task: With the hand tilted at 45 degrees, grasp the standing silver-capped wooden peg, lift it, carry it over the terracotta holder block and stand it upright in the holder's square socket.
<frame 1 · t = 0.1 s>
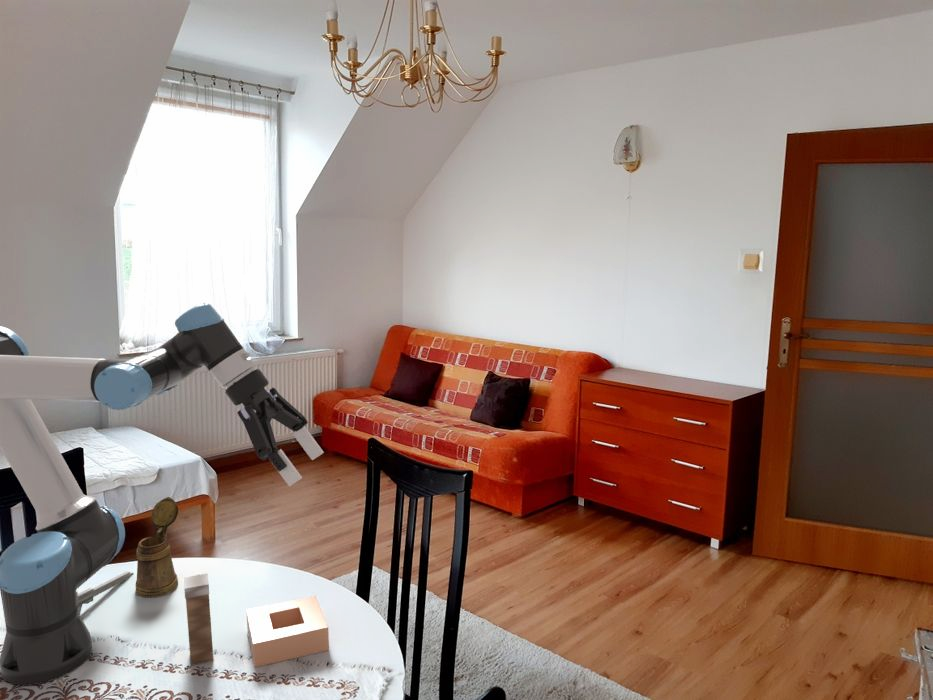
hand: (307, 468, 136), 36 cm above the table, tool tilted 35°, fingers open, 13 cm apart
terracotta holder: (287, 640, 142), on the table
silver-capped wooden peg: (201, 656, 137), on the table
wooden mug: (161, 582, 163), on the table
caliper: (102, 598, 156), on the table
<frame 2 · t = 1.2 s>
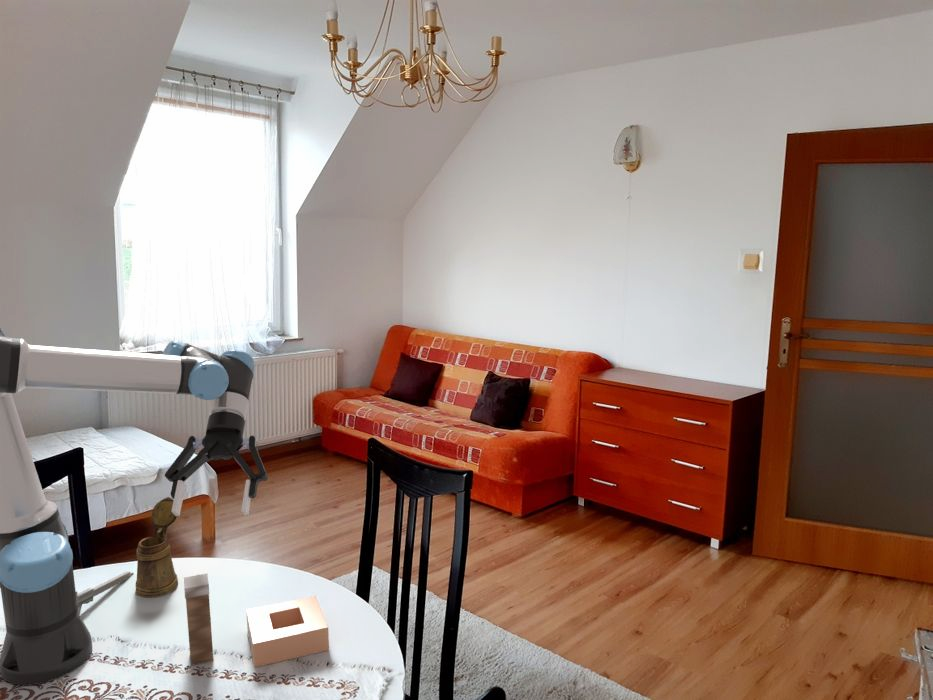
hand: (210, 513, 141), 25 cm above the table, tool tilted 45°, fingers open, 13 cm apart
nothing on the table moved.
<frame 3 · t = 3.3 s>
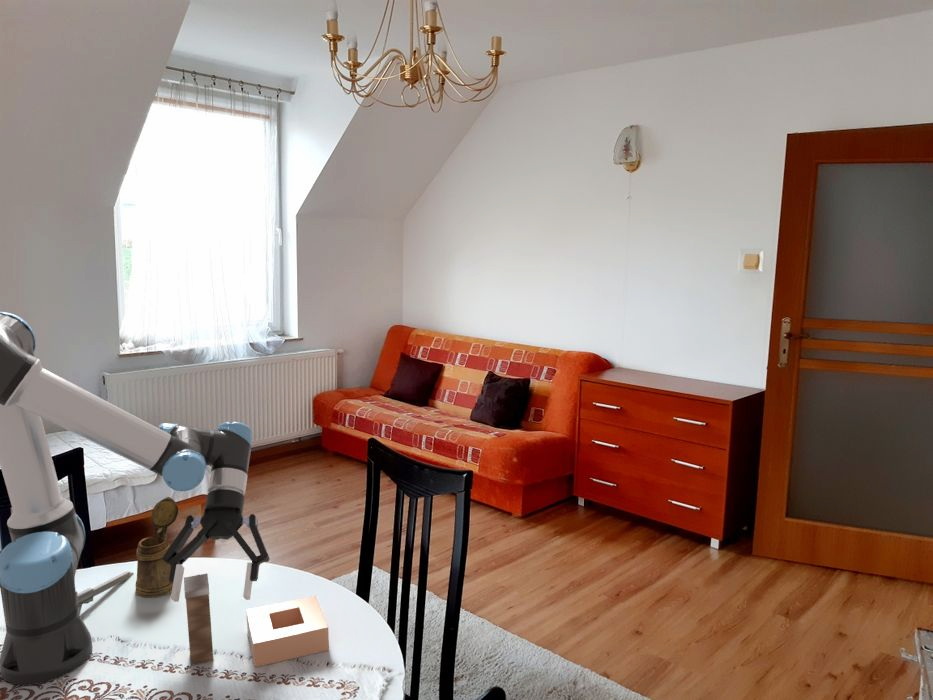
hand: (210, 599, 137), 10 cm above the table, tool tilted 45°, fingers open, 13 cm apart
nothing on the table moved.
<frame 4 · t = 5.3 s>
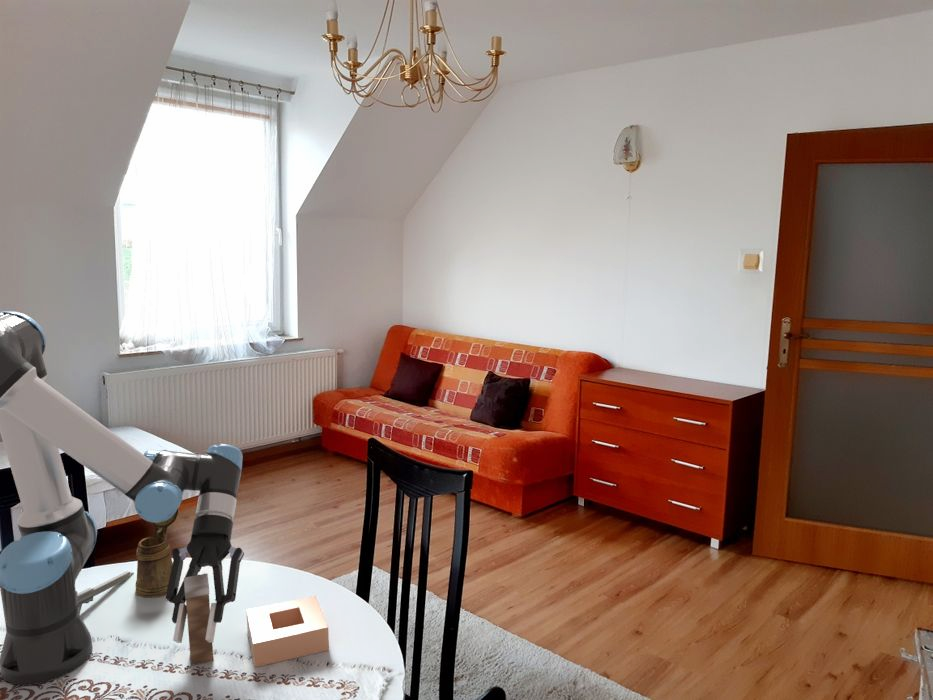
hand: (193, 641, 132), 6 cm above the table, tool tilted 45°, fingers closed on silver-capped wooden peg, 5 cm apart
silver-capped wooden peg: (201, 656, 137), on the table, touching gripper
everything else where it was.
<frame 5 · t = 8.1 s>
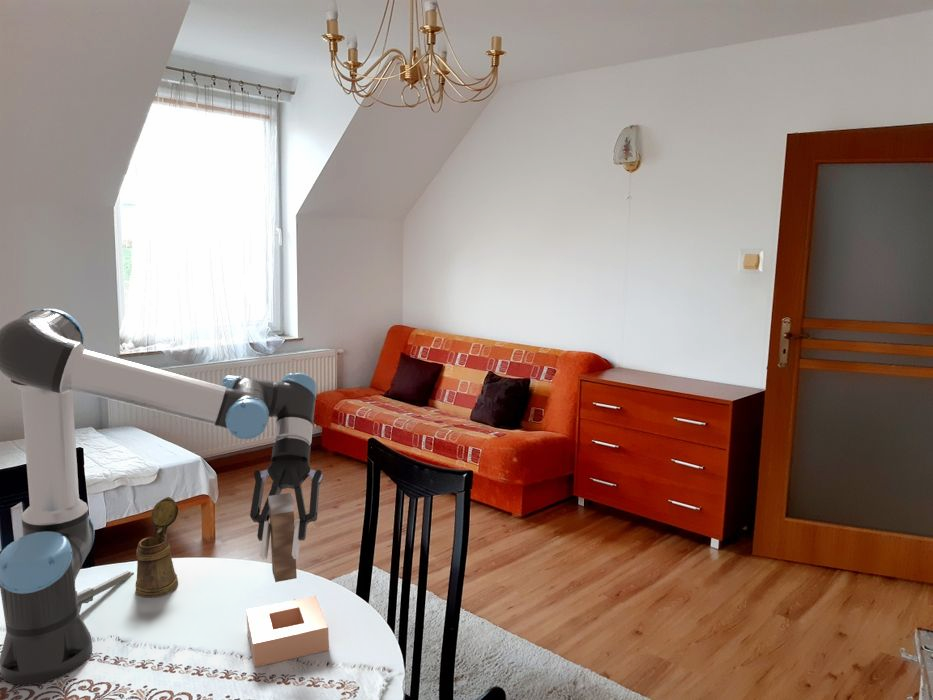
hand: (279, 556, 134), 20 cm above the table, tool tilted 45°, fingers closed on silver-capped wooden peg, 5 cm apart
silver-capped wooden peg: (284, 575, 139), point 14 cm above the table, touching gripper
everything else where it was.
when the fingers open (7 cm above the table, at t = 11.4 s): silver-capped wooden peg stays where it is, resting in terracotta holder.
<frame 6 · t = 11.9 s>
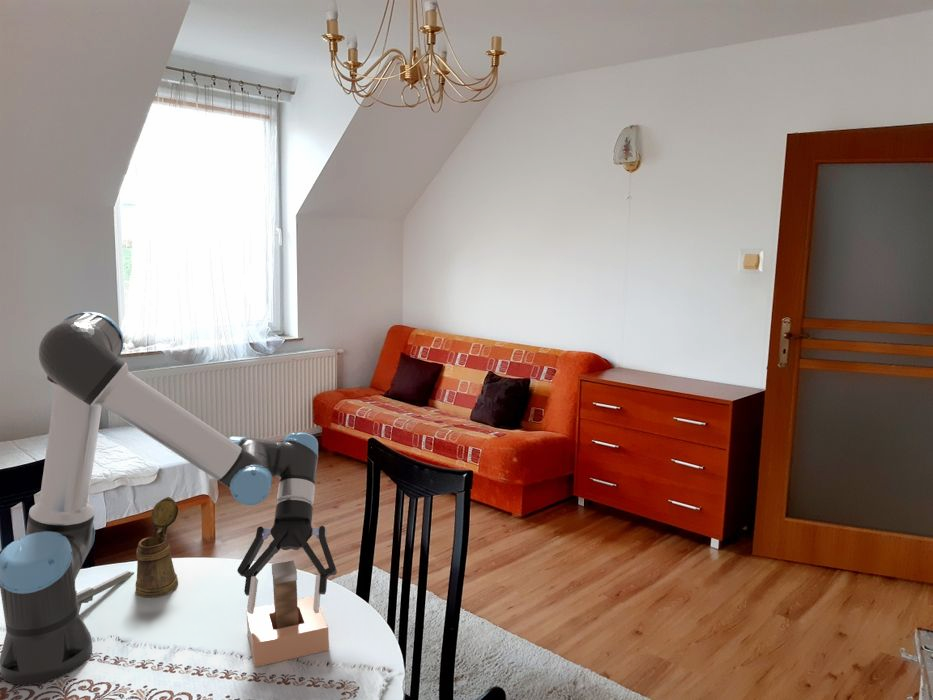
hand: (283, 612, 138), 8 cm above the table, tool tilted 45°, fingers open, 12 cm apart
silver-capped wooden peg: (287, 640, 142), resting in terracotta holder
everything else where it was.
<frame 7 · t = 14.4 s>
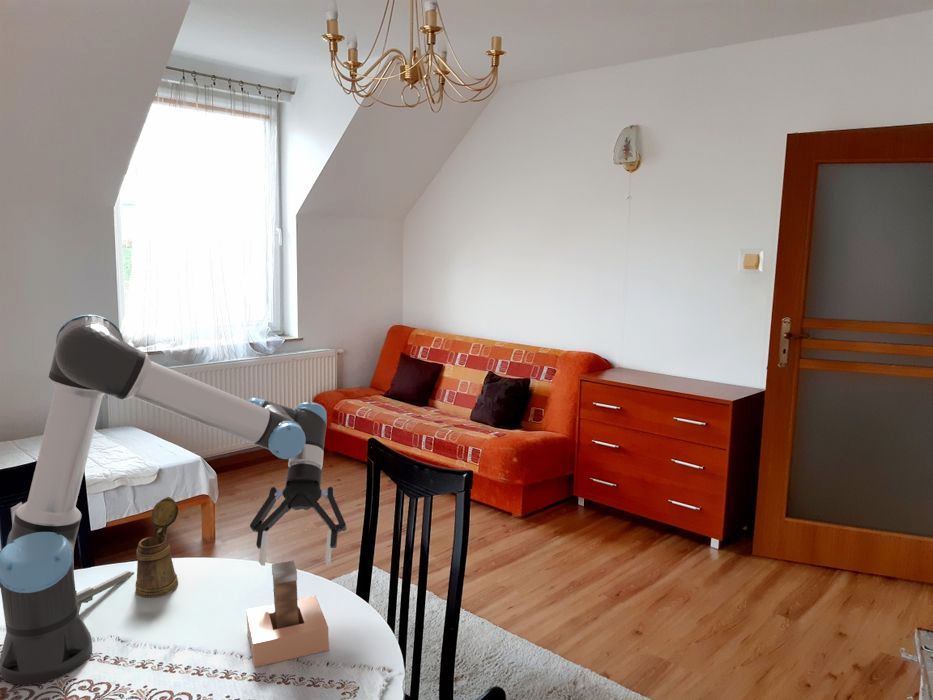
hand: (294, 563, 149), 11 cm above the table, tool tilted 45°, fingers open, 13 cm apart
nothing on the table moved.
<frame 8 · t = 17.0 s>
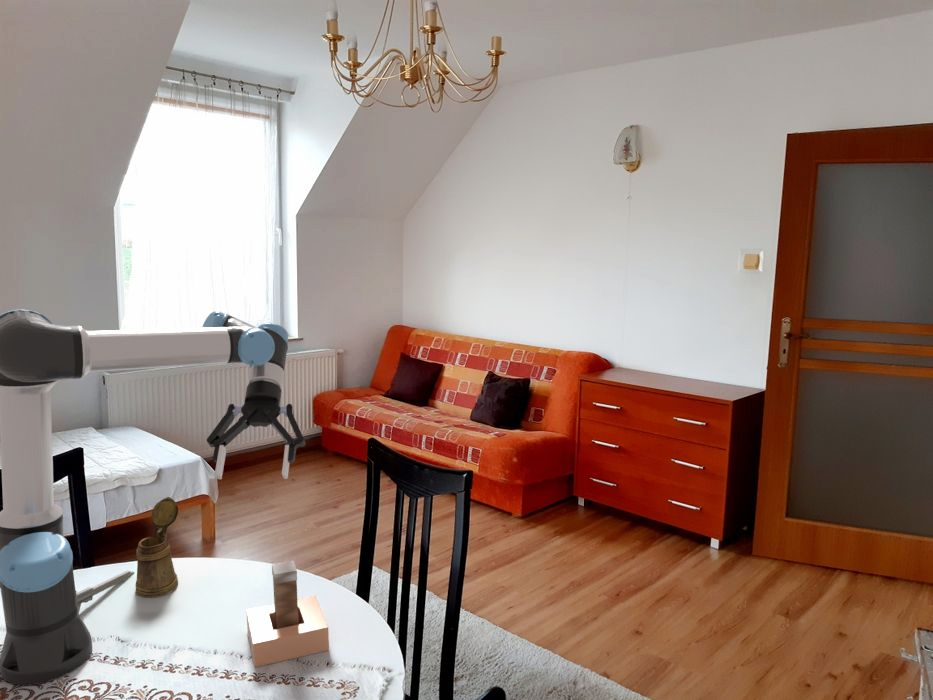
hand: (251, 476, 147), 30 cm above the table, tool tilted 45°, fingers open, 13 cm apart
nothing on the table moved.
at the end: silver-capped wooden peg 0.0 cm off-centre on the terracotta holder, point 0.0 cm above the terracotta holder's base; silver-capped wooden peg tilted 0°; the gripper is holding nothing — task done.
